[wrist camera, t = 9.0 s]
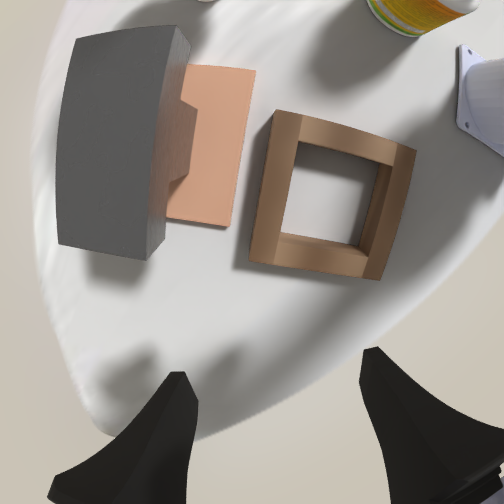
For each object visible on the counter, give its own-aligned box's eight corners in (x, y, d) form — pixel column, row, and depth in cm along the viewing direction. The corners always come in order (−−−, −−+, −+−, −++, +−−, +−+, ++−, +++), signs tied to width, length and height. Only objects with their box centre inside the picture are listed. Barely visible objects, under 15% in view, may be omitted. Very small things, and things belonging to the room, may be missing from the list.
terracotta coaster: (256, 72, 14) (256, 70, 14) (230, 224, 18) (229, 226, 17) (111, 68, 14) (107, 67, 13) (96, 205, 17) (92, 207, 17)
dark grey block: (188, 212, 17) (146, 260, 10) (125, 204, 17) (58, 244, 10) (209, 72, 14) (176, 25, 7) (140, 71, 13) (76, 38, 6)
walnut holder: (401, 148, 16) (416, 150, 14) (369, 268, 19) (379, 280, 17) (273, 113, 15) (275, 109, 13) (249, 248, 19) (248, 260, 17)
